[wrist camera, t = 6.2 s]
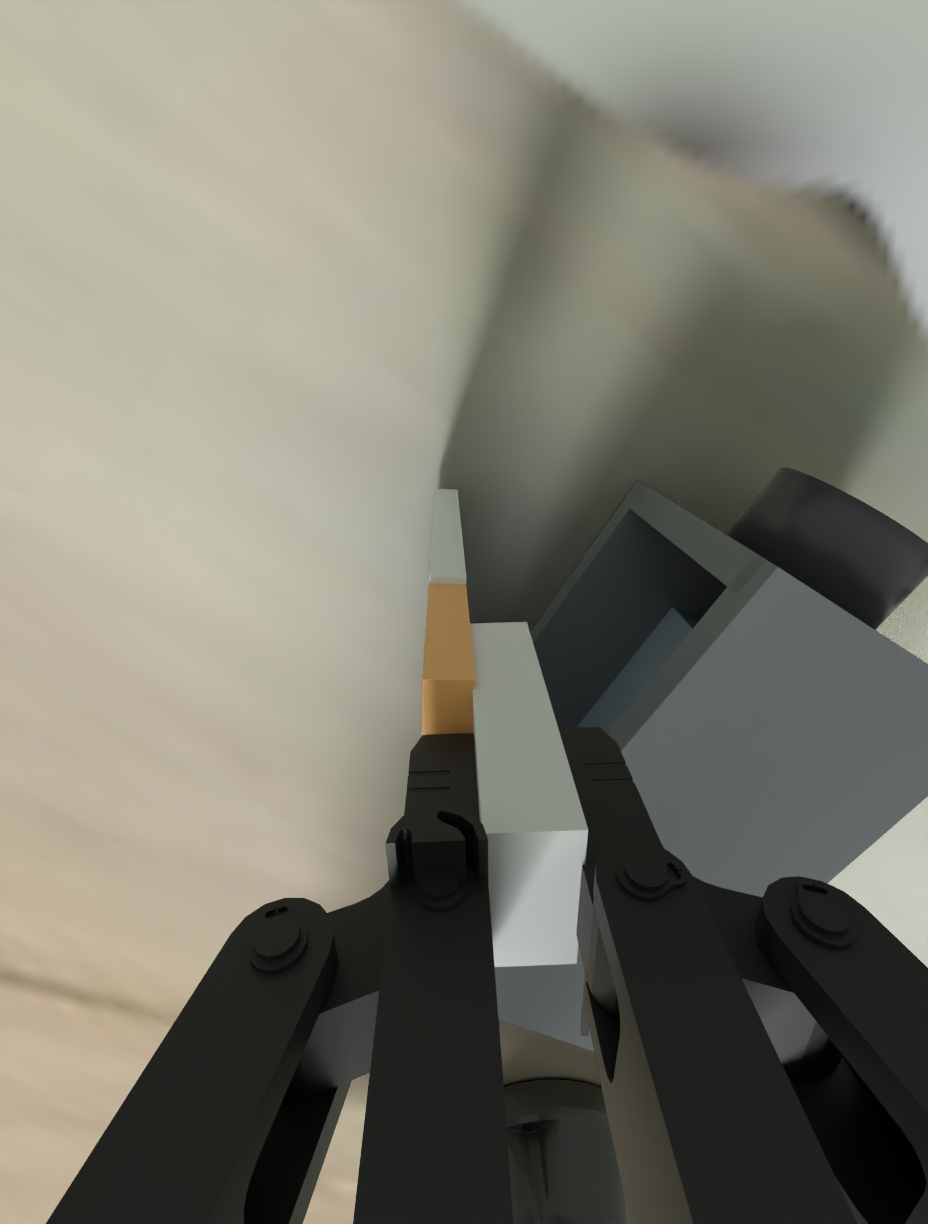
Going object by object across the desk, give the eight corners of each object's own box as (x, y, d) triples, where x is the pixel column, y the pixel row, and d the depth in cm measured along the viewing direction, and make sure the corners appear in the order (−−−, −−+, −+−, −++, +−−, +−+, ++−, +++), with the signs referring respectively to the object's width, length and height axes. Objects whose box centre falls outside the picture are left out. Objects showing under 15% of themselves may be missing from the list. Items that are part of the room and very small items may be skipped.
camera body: (566, 842, 35) (622, 1061, 24) (425, 779, 33) (416, 991, 22) (838, 531, 27) (1101, 646, 16) (679, 420, 25) (862, 468, 14)
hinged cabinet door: (446, 755, 31) (449, 1108, 17) (426, 754, 31) (411, 1108, 16) (457, 489, 25) (476, 671, 11) (432, 488, 25) (417, 670, 11)
